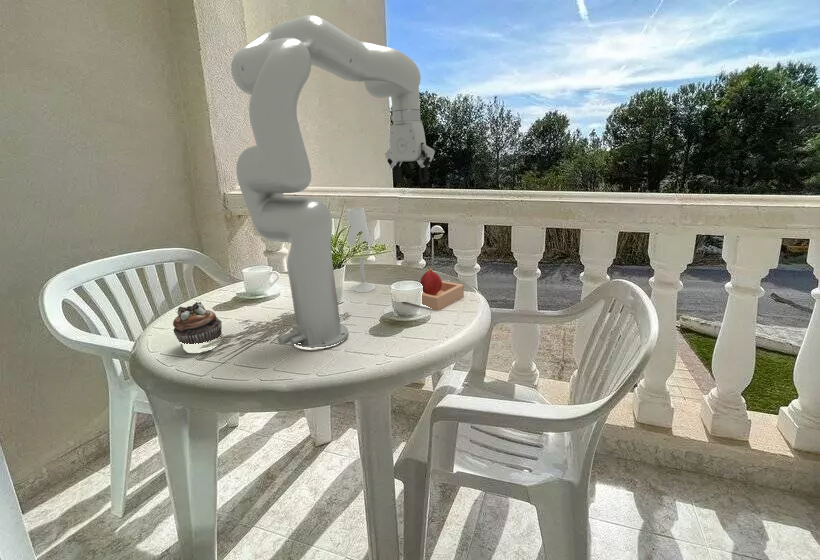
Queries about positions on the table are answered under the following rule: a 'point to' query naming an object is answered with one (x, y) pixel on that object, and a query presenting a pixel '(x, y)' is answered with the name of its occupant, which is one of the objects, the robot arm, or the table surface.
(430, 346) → the table surface
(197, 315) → the cupcake
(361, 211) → the white table lamp
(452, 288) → the tray
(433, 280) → the onion
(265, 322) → the table surface
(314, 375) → the table surface
